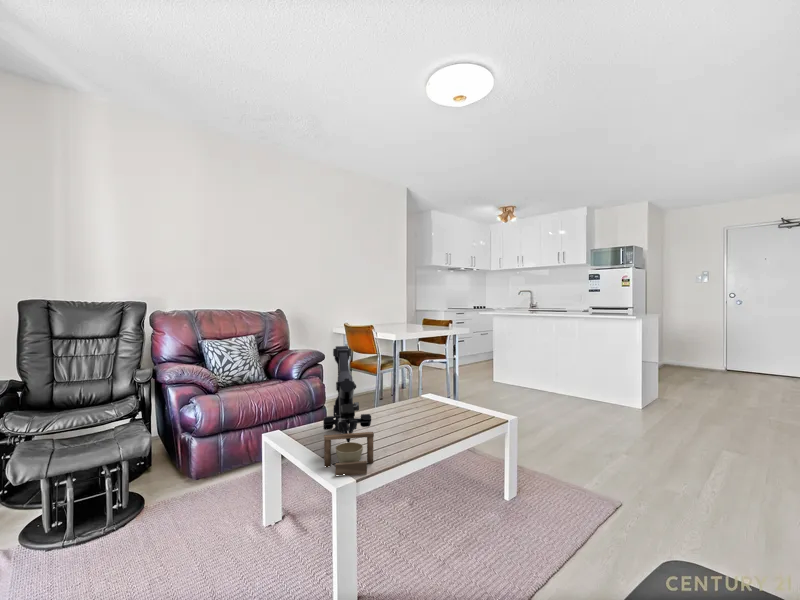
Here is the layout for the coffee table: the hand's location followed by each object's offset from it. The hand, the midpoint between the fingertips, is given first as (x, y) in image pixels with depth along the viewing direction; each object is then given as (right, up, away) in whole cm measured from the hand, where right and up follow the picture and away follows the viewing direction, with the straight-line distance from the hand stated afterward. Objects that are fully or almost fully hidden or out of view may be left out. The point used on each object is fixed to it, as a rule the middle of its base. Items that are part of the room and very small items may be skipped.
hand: (348, 441), depth 148 cm
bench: (+1, -7, -7) cm, 10 cm away
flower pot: (+1, -8, -5) cm, 9 cm away
